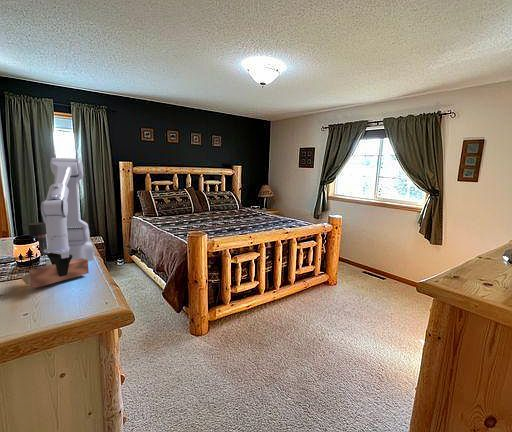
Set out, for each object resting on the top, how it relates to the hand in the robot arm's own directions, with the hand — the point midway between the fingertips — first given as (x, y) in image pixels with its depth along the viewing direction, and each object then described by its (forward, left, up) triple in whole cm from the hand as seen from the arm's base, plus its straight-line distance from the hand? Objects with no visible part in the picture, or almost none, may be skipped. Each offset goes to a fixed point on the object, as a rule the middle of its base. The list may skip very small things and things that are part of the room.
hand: (61, 274), depth 95 cm
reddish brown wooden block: (0, 0, -2) cm, 2 cm away
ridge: (0, -11, -3) cm, 11 cm away
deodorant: (-3, -46, -4) cm, 47 cm away
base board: (0, -11, -4) cm, 12 cm away
